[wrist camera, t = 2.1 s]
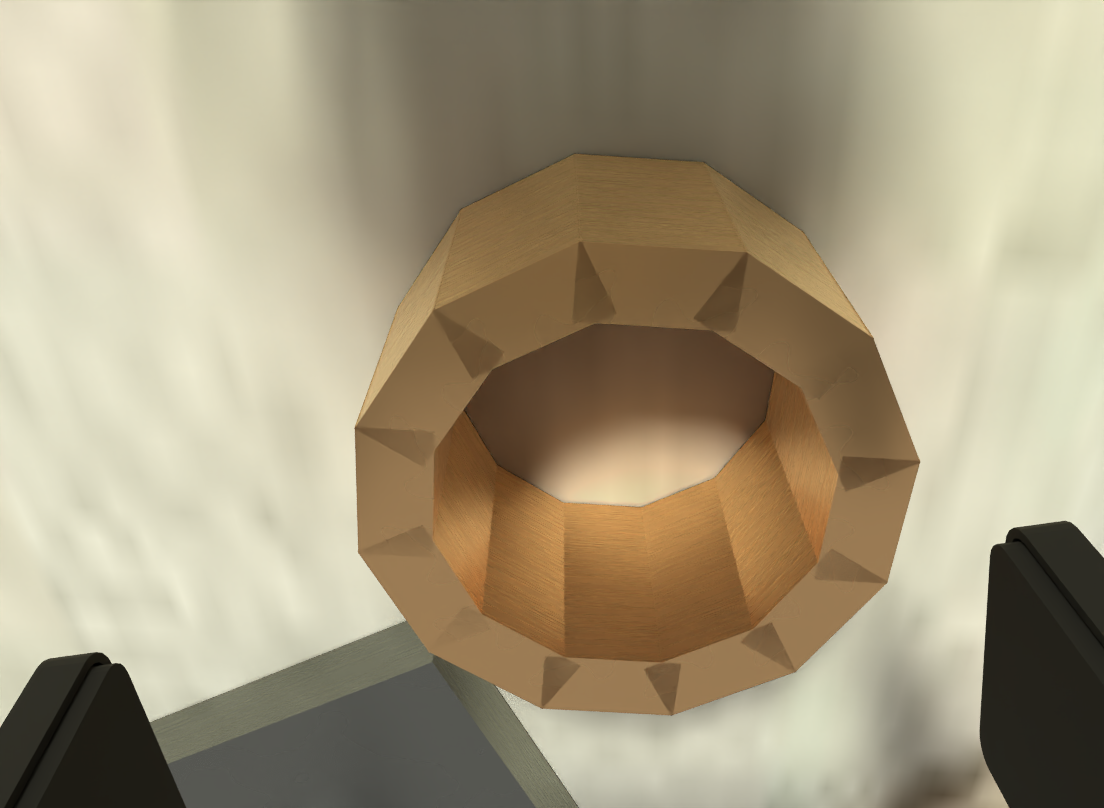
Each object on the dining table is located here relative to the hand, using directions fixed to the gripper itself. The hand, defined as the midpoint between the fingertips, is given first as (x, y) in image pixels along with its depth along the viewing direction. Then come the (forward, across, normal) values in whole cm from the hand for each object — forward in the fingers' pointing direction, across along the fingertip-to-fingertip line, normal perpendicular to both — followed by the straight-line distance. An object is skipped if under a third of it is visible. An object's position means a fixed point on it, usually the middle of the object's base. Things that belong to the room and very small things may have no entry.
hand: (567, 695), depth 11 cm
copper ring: (+7, -1, 0) cm, 7 cm away
